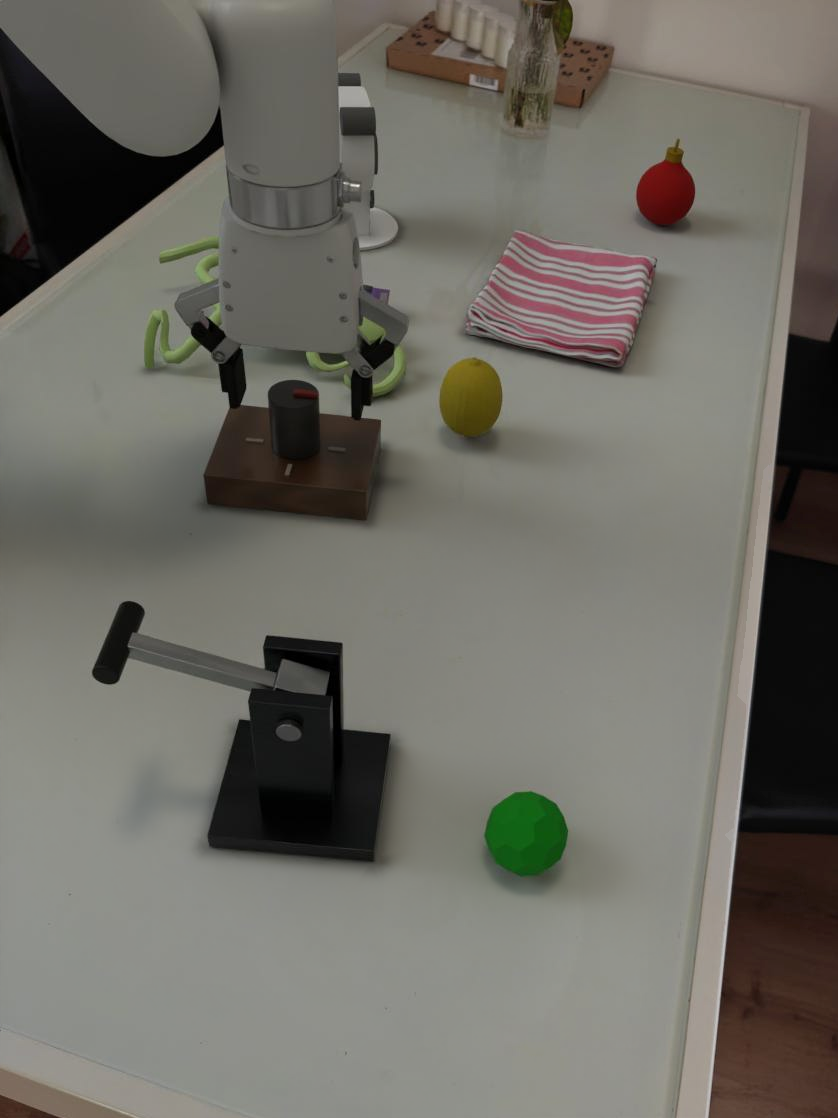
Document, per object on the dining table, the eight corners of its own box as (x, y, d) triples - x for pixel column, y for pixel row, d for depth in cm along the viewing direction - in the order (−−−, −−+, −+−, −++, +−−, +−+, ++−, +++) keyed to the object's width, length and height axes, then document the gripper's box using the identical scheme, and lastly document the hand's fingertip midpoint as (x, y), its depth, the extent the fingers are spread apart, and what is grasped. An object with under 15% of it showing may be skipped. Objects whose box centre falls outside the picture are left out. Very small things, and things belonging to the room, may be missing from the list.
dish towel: (458, 339, 104) (461, 307, 102) (514, 242, 120) (518, 212, 118) (622, 376, 102) (629, 345, 100) (657, 273, 118) (664, 243, 115)
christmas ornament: (681, 240, 124) (702, 156, 117) (625, 227, 125) (642, 142, 118) (692, 217, 129) (712, 134, 122) (637, 204, 130) (654, 122, 123)
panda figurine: (407, 252, 116) (413, 112, 105) (306, 254, 113) (301, 111, 103) (388, 204, 124) (392, 69, 113) (293, 206, 121) (288, 68, 110)
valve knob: (267, 457, 83) (262, 401, 80) (276, 428, 86) (272, 373, 82) (316, 462, 84) (314, 407, 80) (323, 433, 86) (322, 379, 82)
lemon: (444, 413, 95) (450, 336, 89) (502, 425, 95) (512, 348, 89) (430, 448, 91) (435, 369, 86) (490, 460, 91) (500, 382, 85)
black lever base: (208, 846, 62) (185, 725, 53) (240, 730, 68) (224, 604, 60) (373, 862, 62) (377, 744, 54) (390, 744, 69) (395, 621, 60)
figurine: (178, 273, 108) (171, 221, 104) (427, 309, 108) (430, 259, 104) (113, 366, 96) (102, 311, 91) (396, 408, 95) (398, 354, 91)
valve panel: (206, 504, 83) (202, 472, 81) (233, 432, 90) (230, 401, 88) (366, 520, 84) (366, 490, 82) (380, 447, 91) (381, 417, 88)
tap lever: (89, 686, 55) (93, 658, 53) (116, 619, 58) (121, 591, 56) (309, 745, 57) (320, 720, 56) (323, 678, 61) (334, 653, 59)
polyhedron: (522, 807, 66) (531, 763, 63) (577, 858, 64) (590, 815, 60) (465, 850, 63) (471, 807, 60) (520, 905, 61) (530, 863, 58)
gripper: (417, 180, 72) (410, 389, 85) (171, 156, 72) (201, 369, 85) (406, 229, 67) (401, 443, 80) (142, 203, 67) (178, 422, 79)
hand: (298, 404), depth 82 cm, fingers open, 9 cm apart
